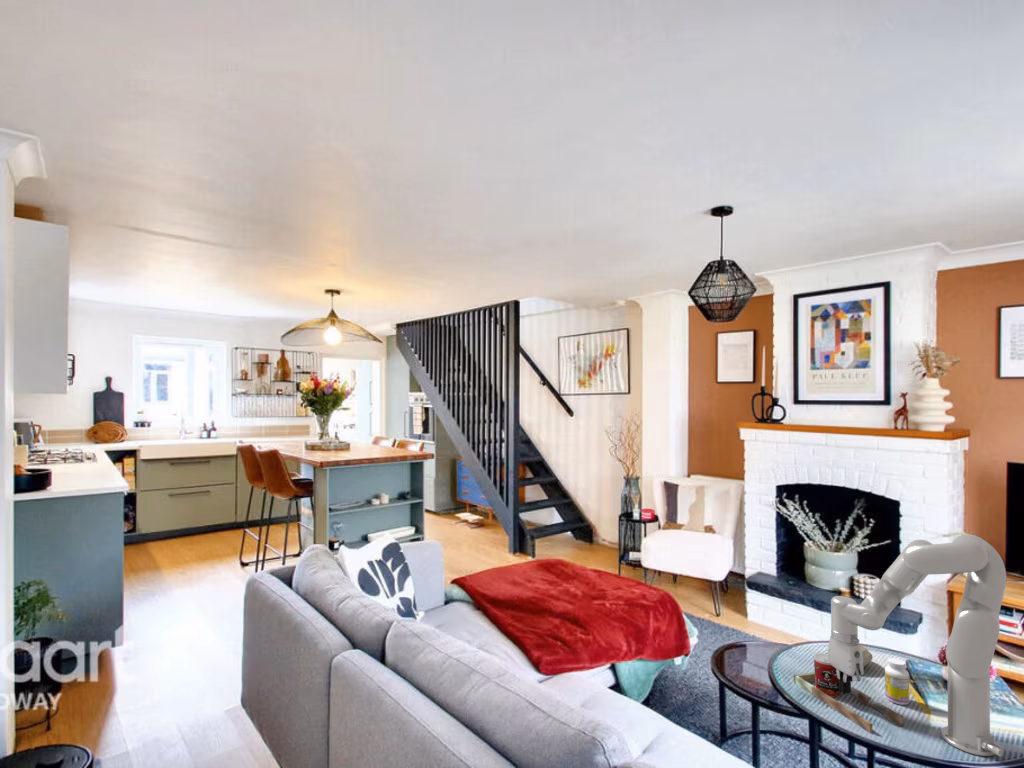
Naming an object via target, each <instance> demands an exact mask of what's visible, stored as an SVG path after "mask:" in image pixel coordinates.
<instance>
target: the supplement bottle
mask: <svg viewBox="0 0 1024 768" xmlns="http://www.w3.org/2000/svg"><path fill="white" fill-rule="evenodd" d="M906 667H907V666H906V662H905V661H903V660H902V659H898V658H895V657H890V658H888V665H886V666H885V668H884V696H885V698H886V699H887V700H888V701H889V702H891V703H893V704H896V705H900V706H905V705H908V704H909V703H910V673H909V672H908V670H906Z"/></svg>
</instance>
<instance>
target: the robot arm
mask: <svg viewBox="0 0 1024 768" xmlns="http://www.w3.org/2000/svg"><path fill="white" fill-rule="evenodd" d="M947 574H949V575H950V574H951V575H952V574H967V575H966V579H965V583H964V584H965V585H964V588H963V592H962V596H961V599H960V601H959V604H958V606H957V608H956V612H955V617H954V621H953V626H952V629H951V634H950V636H949V637H948V639H947V642H946V648H945V649H946V651H945V659H946V662H947V726H944V727H942V728H941V730H940V731H941V732H940V733H941V738H943V739H944V740H945V742H947V743H948V744H949V745H951V746H953V747H954V748H957V749H959V750H960V751H963V752H966V753H969V754H972V755H976V756H983V757H992V756H998V757H1000V758H1002V757H1003V756H1004V752H1005V747H1004V746H1002V745H1001V744H999V743H997V742H996V741H995V735H994V734H992V733H991V665H992V661H993V658H994V653H995V651H996V646H997V644H998V639H999V635H1000V628H1001V626H1000V610H1001V607H1002V603H1003V600H1004V599H1003V597H1004V593H1005V589H1006V583H1007V582H1006V581H1007V570H1006V567H1005V564H1004V561H1003V559H1002V557H1001V555H1000V553H999V552H998V551H997V550H996V549H995V547H993V545H991V544H990V543H988V541H986V540H984V539H983V538H981V537H980V536H977V535H974V534H970V533H966V534H965V533H964V534H961V535H959V536H957V537H955V538H954V539H953V540H952V542H946V543H934V544H933V543H932V542H930V541H928V540H925V539H915V540H912V541H911V542H910V543H908V544H907V546H906V547H905V548H904V549H903V550H902V551H901V553H900V554H899V555H898V556H897V557H896V559H895V560H894V561H893V562H892V564H891V565H890V566H889V567H888V568H887V569H886V571H884V573H883V575H882V577H881V578H880V580H879V581H878V582H877V584H876V585H875V586H874V587H873V588H872V590H871V591H870V592H869V593H868V595H867V596H866V597H865V598H864V599H863V600H862V602H861V603H860V604H858V603H857V602H856V600H855V599H853V598H851V597H848V596H844V595H835V596H833V597H832V598H831V599H830V630H831V631H830V637H829V641H828V649H827V650H828V651H827V654H828V660H829V663H830V664H831V665H832V666H833V667H835V672H836V673H837V678H838V679H839V692H841V694H843V695H848V694H849V693H851V687H852V682H860V681H861V676H863V675H864V667H863V657H862V651H861V647H860V639H858V638H859V635H858V634H859V631H858V629H859V628H863V629H865V630H869V631H878V630H880V629H881V628H883V626H884V624H885V622H886V620H887V617H889V615H890V613H892V611H893V610H894V609H895V608H896V607H897V605H899V603H900V602H901V601H902V600H903V599H904V598H906V597H908V596H910V595H912V594H913V593H914V592H915V591H916V590H917V588H918V587H919V586H920V585H921V583H922V582H923V581H924V580H925V579H926V578H927V577H928V576H929V575H947ZM858 627H859V628H858Z"/></svg>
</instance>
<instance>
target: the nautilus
mask: <svg viewBox="0 0 1024 768" xmlns="http://www.w3.org/2000/svg"><path fill="white" fill-rule="evenodd" d="M860 647H861V651H862V657H863V668H864V667H865V666H866V665H868V664H869V663H870V662H871V661H873V658H874V656H873V654H872V653H871V652H870V651H869V650H868V648H866V647H864V646H862V645H860ZM827 652H828V649H827V650H826V652H825V653H824V654H827Z"/></svg>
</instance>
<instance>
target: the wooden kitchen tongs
mask: <svg viewBox="0 0 1024 768" xmlns="http://www.w3.org/2000/svg"><path fill="white" fill-rule="evenodd" d="M810 682H815V671H813V672H806V673H799V674H794V675H793V683H794V684H795V685H797V686H799V687H800V688H802V689H803V690H805V691H806V692H808V693H809V694H810V695H812V696H813V697H814V698H815V697H816V698H817V699H818V700H819V701H821V702H822V703H824V704H826V705H827V706H829V707H830V708H831V709H833V710H835V711H837V712H838V713H839V714H840V715H843V716H844V717H845V718H847V719H848V720H849V721H851V722H853V723H854V724H856V725H857V726H859V727H861V728H862V729H863V730H865V731H866V732H868V733H869V734H871V733H873V727H874V726H873V723H872V722H870V721H869V720H867V719H865V718H864V717H862V715H860V714H858V713H856V712H855V711H853V710H852V709H850V708H848V706H846V705H844V704H843V703H840V701H837V700H836V699H835V698H833V697H832V696H828V695H827V694H825V693H824V692H822V691H821V690H819V689H817V688H816V686H814V685H813V684H811V683H810ZM848 694H850V695H851V696H853V697H854V698H856V699H857V701H858V702H860V703H862V704H863V705H865V706H869V707H871V708H872V709H874V710H876V711H878V712H879V713H880V714H882V715H884V716H885V718H886V719H887V720H889V721H891V722H892V723H894V724H895V725H896V726H898V727H900V728H903V727H904V725H905V723H904V717H902V716H900V714H899V713H897V712H896V711H895V710H892V709H891V708H889V707H888V706H886V705H884V704H882V703H881V702H875V703H869V702H870V701H869V700H871V699H872V697H871V696H869V695H867V694H865V693H864V692H862V691H860V690H859V689H857V688H855V687H854V686H851V693H848Z"/></svg>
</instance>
